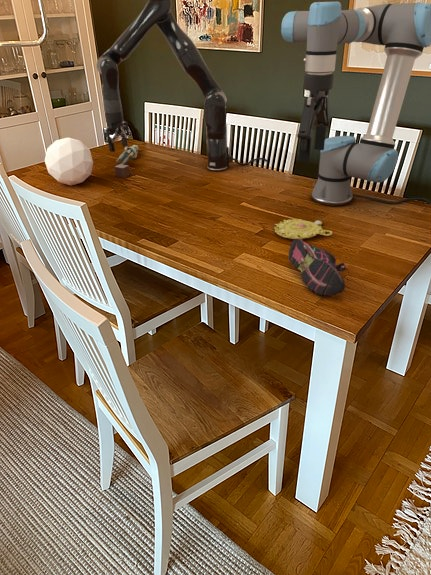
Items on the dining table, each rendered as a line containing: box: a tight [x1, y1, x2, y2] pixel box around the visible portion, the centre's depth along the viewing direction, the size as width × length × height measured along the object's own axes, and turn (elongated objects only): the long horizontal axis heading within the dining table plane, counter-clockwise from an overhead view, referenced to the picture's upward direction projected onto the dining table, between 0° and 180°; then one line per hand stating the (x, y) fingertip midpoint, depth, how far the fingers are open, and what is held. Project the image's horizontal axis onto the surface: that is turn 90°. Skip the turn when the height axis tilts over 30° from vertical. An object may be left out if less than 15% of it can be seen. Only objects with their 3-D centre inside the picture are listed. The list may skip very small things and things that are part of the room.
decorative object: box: [273, 218, 333, 241], centre depth 145 cm, size 21×2×20 cm
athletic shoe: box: [288, 239, 349, 296], centre depth 119 cm, size 11×22×12 cm
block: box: [114, 163, 131, 179], centre depth 200 cm, size 4×5×4 cm
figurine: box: [115, 144, 140, 165], centre depth 221 cm, size 7×8×30 cm
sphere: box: [44, 137, 94, 187], centre depth 189 cm, size 19×20×20 cm
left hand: (118, 149), depth 195 cm, fingers open, 8 cm apart
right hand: (311, 155), depth 125 cm, fingers open, 13 cm apart
